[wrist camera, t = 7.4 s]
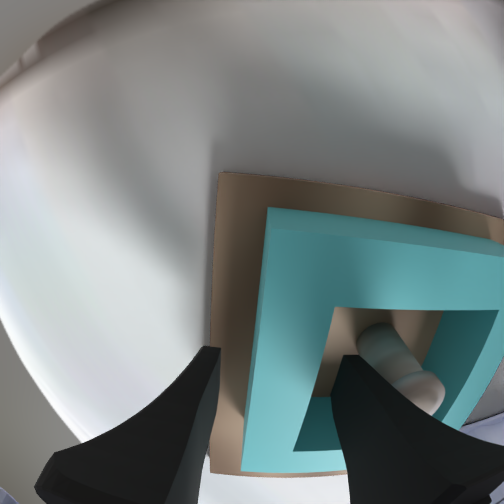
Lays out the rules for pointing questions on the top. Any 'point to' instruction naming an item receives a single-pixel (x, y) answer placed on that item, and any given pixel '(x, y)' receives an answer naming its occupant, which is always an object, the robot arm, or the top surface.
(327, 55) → the top surface
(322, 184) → the peg board
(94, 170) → the top surface
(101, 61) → the top surface
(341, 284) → the loop
